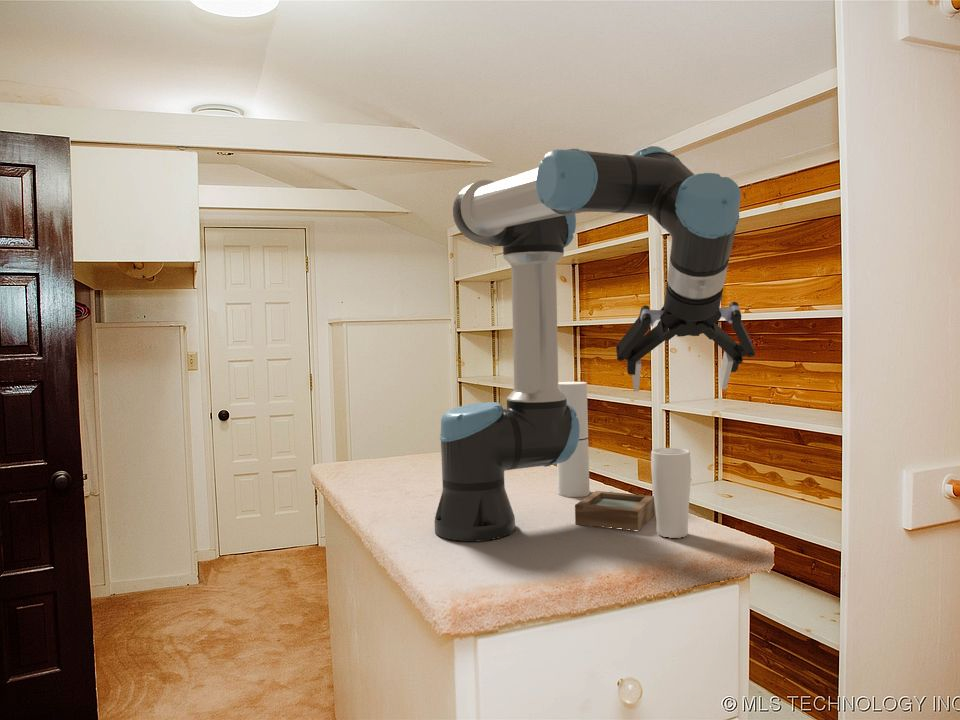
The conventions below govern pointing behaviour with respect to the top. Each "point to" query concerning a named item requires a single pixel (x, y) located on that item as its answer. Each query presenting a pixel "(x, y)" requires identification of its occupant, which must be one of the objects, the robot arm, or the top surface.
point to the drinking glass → (671, 490)
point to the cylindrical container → (577, 466)
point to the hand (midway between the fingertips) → (678, 384)
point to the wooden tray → (615, 510)
